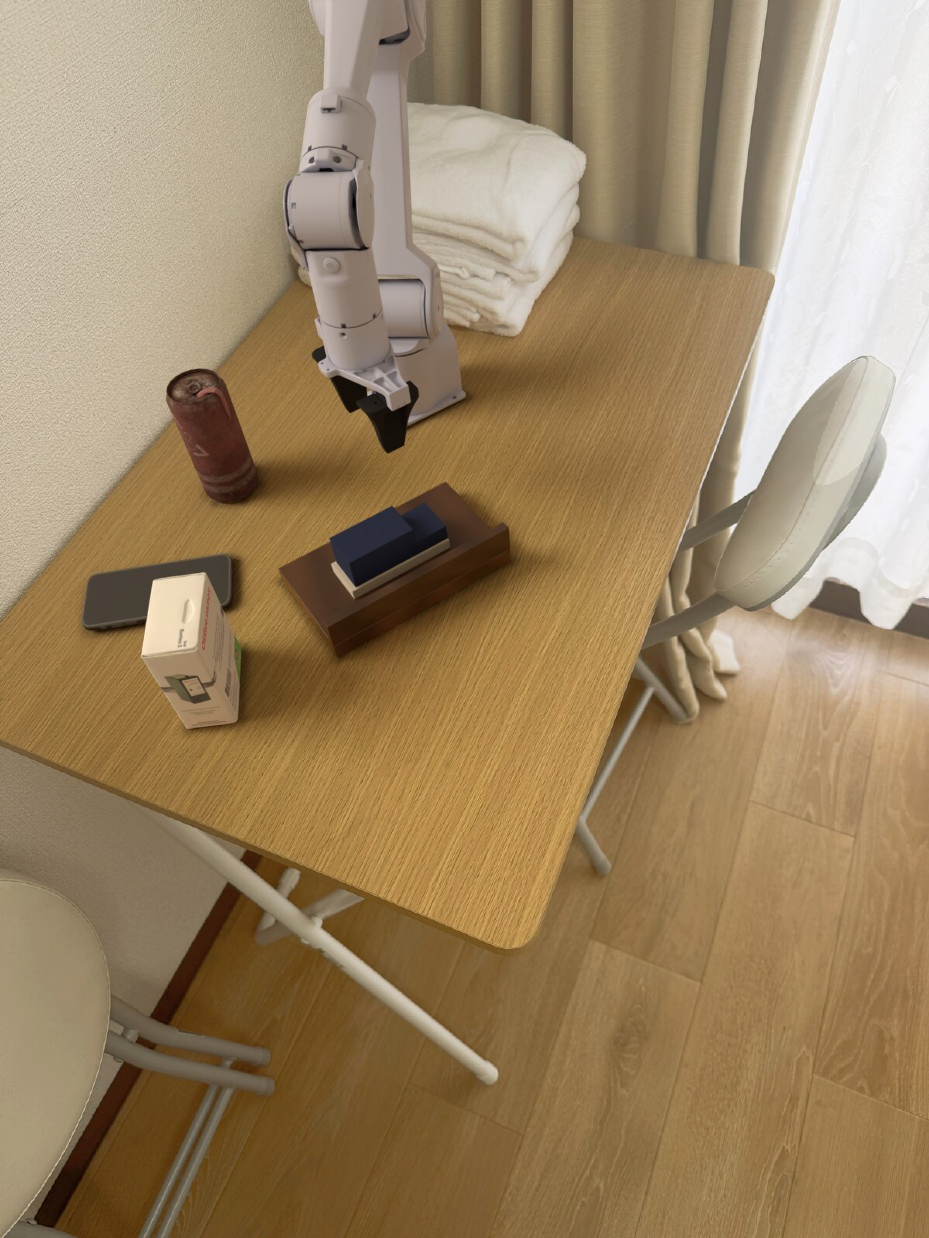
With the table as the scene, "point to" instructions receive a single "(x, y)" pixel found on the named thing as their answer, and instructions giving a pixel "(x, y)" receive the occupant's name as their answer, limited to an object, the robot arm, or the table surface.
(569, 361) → the table surface
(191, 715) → the ink box
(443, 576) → the wooden lipped stand
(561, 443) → the table surface
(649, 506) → the table surface
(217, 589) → the smartphone
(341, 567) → the navy block on plinth
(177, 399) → the can
